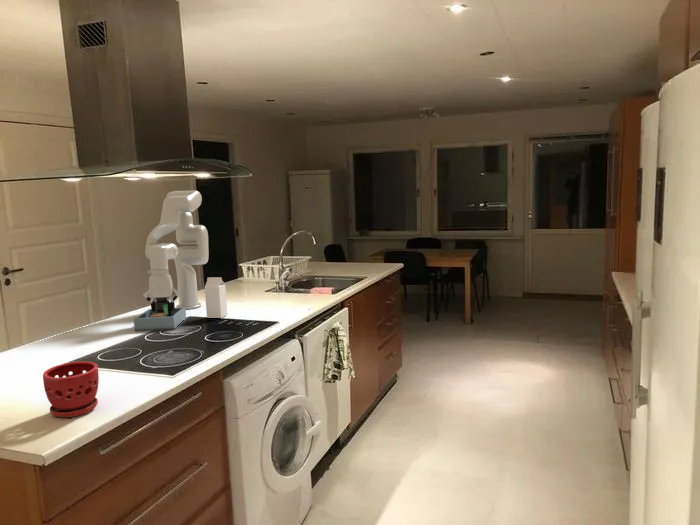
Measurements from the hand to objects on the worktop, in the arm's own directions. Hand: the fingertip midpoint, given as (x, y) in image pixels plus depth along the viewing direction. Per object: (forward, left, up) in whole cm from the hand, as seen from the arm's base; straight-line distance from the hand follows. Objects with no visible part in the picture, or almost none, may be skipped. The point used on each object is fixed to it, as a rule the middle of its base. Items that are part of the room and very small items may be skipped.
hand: (163, 310), depth 246 cm
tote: (+4, 0, -6) cm, 7 cm away
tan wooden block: (+9, 0, -5) cm, 10 cm away
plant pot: (+103, +6, -6) cm, 103 cm away
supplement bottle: (0, 0, -5) cm, 5 cm away
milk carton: (-6, +23, -6) cm, 24 cm away
